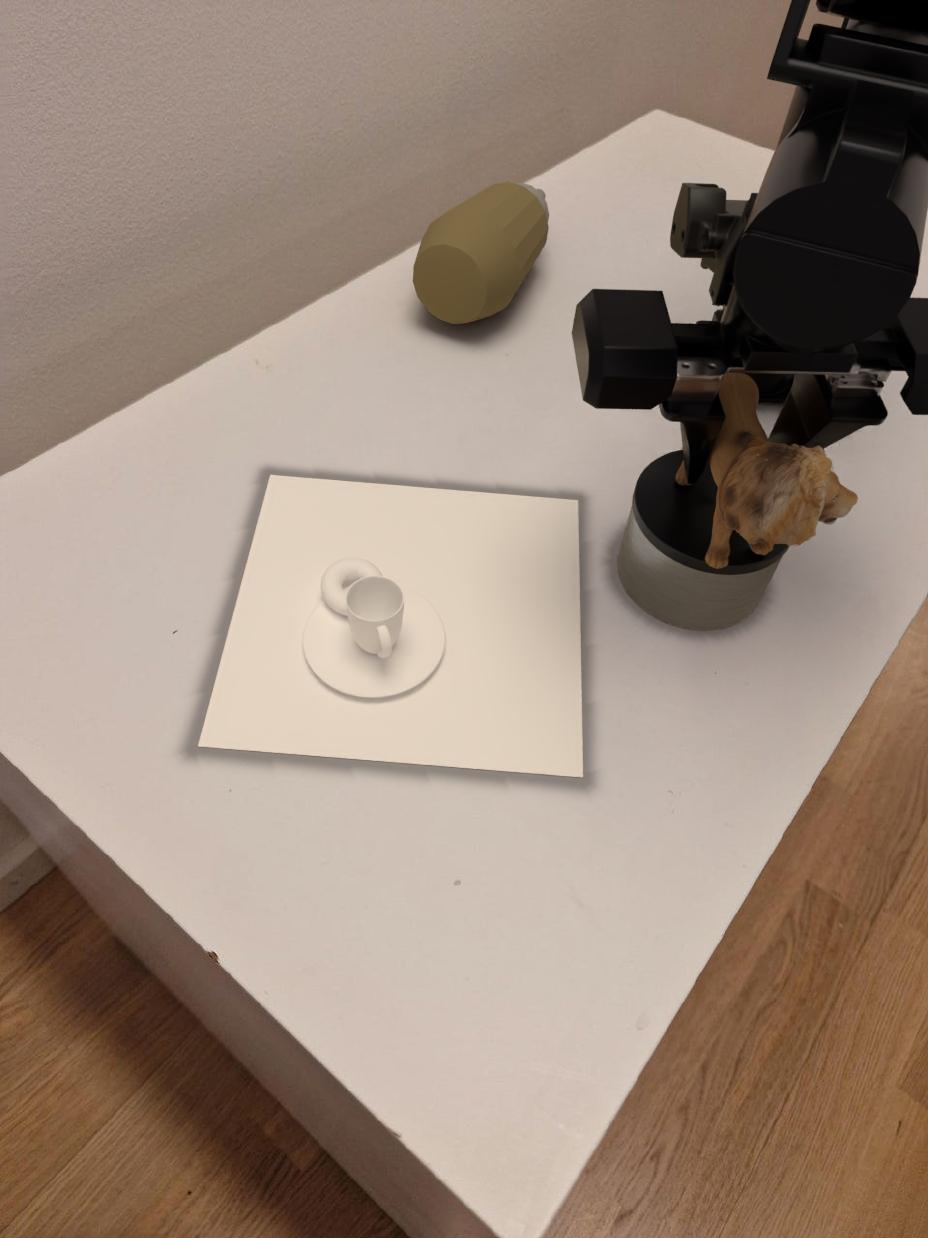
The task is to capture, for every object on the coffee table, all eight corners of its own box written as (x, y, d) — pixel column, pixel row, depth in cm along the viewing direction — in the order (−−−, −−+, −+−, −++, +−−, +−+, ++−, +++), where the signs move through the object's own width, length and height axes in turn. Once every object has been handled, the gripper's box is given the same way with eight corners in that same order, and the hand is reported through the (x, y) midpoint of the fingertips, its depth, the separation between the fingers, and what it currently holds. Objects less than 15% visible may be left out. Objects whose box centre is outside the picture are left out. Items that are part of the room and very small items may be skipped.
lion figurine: (829, 601, 48) (887, 476, 40) (731, 622, 47) (772, 500, 40) (717, 414, 56) (749, 283, 49) (633, 430, 56) (653, 300, 48)
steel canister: (747, 518, 60) (776, 448, 55) (780, 633, 55) (817, 567, 50) (606, 516, 59) (624, 445, 55) (626, 632, 54) (648, 565, 49)
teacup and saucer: (317, 571, 55) (312, 525, 52) (450, 582, 55) (453, 536, 52) (292, 696, 50) (284, 652, 47) (439, 708, 50) (442, 665, 47)
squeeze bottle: (481, 358, 69) (564, 260, 81) (514, 263, 63) (599, 171, 74) (387, 307, 70) (483, 217, 81) (411, 208, 63) (511, 125, 75)
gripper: (977, 122, 44) (849, 386, 56) (585, 106, 43) (544, 380, 55) (1078, 256, 37) (908, 522, 50) (617, 242, 36) (562, 518, 48)
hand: (725, 478), depth 51 cm, fingers closed on lion figurine, 4 cm apart
